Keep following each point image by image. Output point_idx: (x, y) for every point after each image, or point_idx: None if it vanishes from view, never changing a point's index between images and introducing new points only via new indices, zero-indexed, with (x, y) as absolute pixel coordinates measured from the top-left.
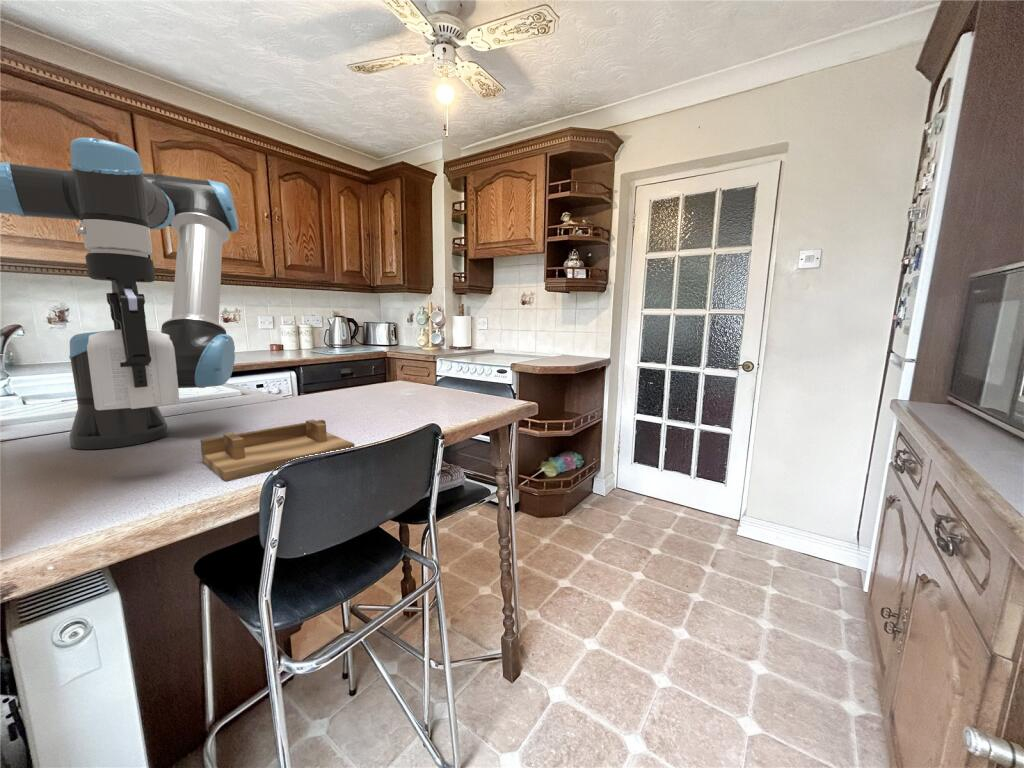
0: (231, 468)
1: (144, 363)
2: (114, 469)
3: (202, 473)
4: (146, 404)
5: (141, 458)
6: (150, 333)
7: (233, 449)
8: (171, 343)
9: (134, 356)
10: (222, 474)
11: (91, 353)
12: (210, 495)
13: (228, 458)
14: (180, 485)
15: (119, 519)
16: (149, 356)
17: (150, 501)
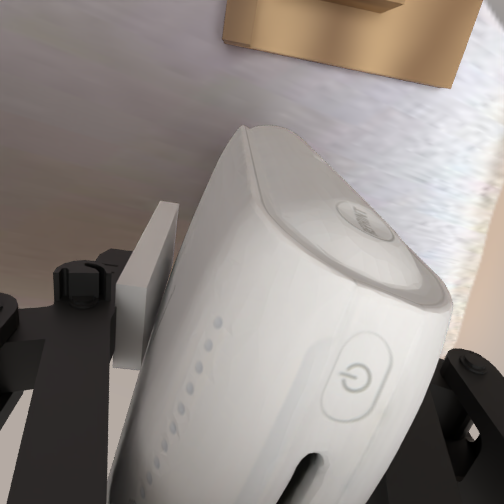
0: (439, 61)
1: (438, 362)
2: (121, 201)
3: (330, 92)
4: None
5: (60, 134)
6: (388, 457)
7: (379, 6)
8: (400, 251)
9: (466, 430)
10: (427, 84)
11: None
12: (484, 146)
13: (346, 18)
14: (368, 157)
15: (436, 272)
16: (501, 379)
17: (403, 222)
